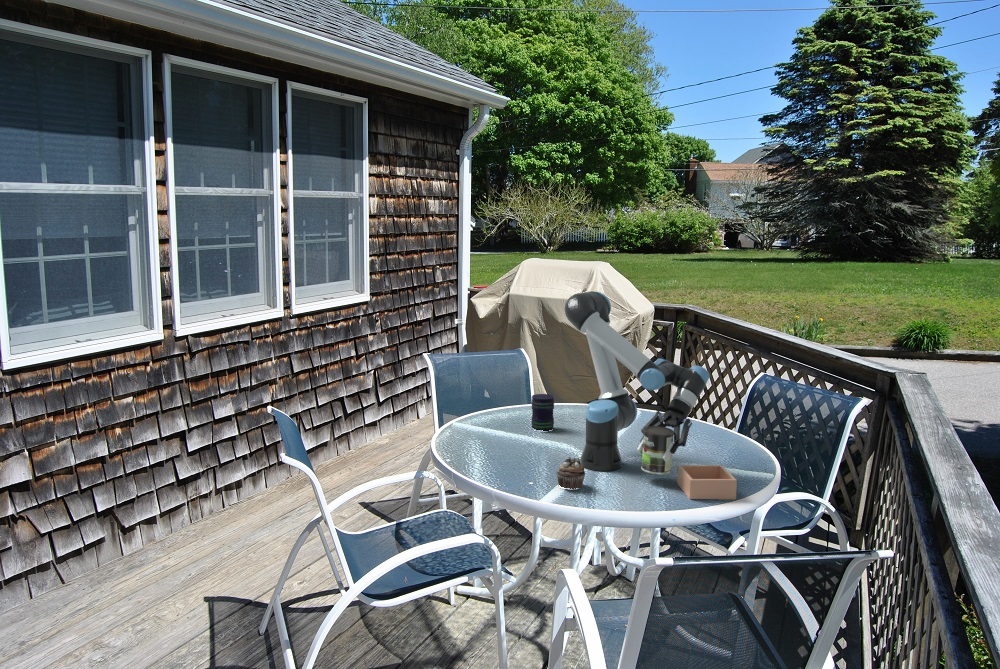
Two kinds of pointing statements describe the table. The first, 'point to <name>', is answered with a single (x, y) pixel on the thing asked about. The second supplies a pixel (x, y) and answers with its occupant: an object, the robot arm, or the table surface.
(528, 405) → the table surface
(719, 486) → the planter box
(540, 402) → the storage jar
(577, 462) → the cupcake
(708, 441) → the table surface
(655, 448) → the coffee can
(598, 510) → the table surface
